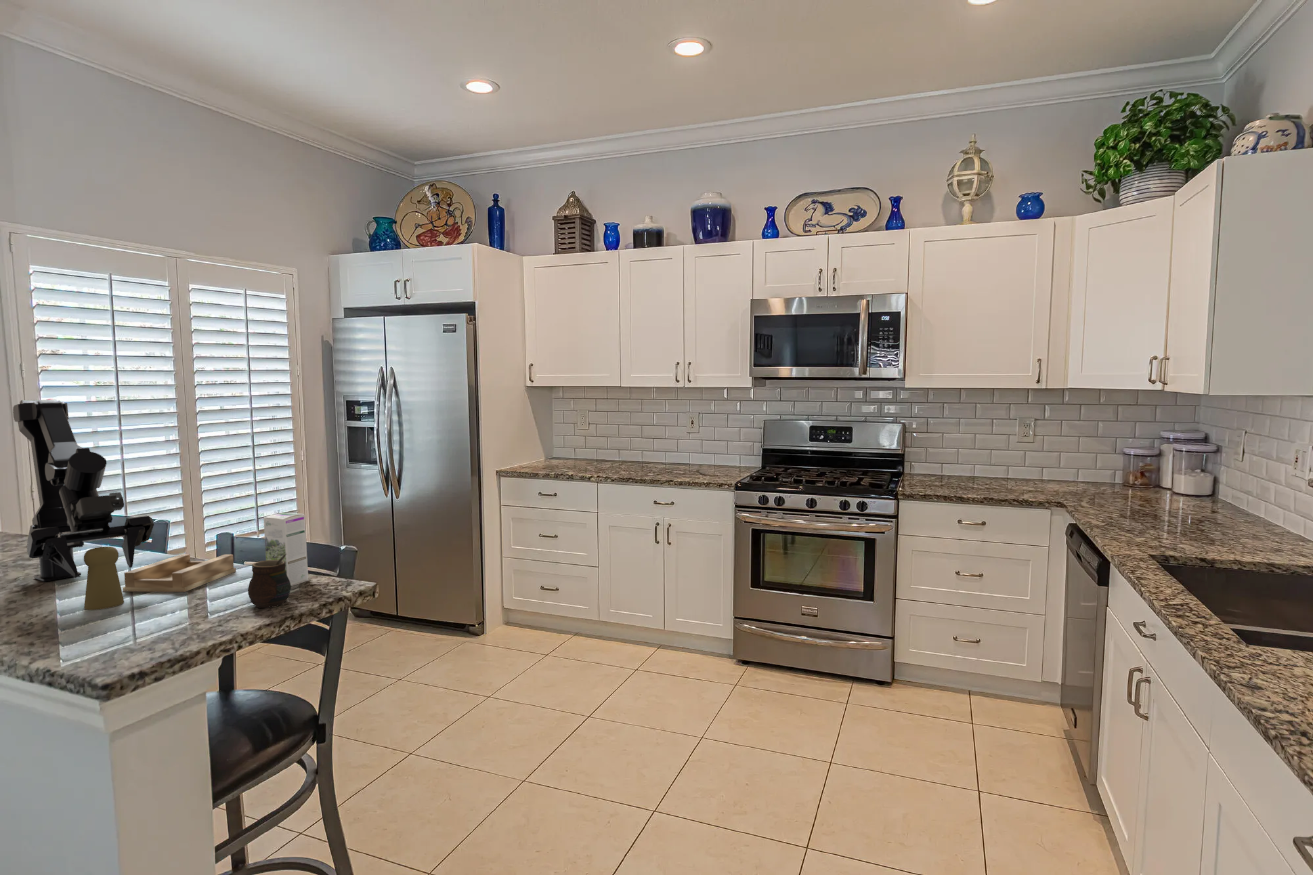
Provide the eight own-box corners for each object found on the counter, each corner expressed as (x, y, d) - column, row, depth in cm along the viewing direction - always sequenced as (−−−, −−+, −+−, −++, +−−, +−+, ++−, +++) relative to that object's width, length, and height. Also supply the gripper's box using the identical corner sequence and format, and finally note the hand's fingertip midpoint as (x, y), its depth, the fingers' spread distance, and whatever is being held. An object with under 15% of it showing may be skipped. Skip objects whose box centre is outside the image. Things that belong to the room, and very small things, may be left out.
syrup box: (309, 580, 151) (306, 512, 150) (286, 587, 146) (283, 517, 145) (288, 578, 153) (285, 511, 152) (265, 585, 148) (262, 516, 147)
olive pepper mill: (102, 610, 132) (98, 551, 131) (75, 608, 133) (71, 550, 132) (132, 601, 137) (128, 544, 137) (106, 599, 139) (102, 543, 138)
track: (179, 570, 160) (179, 554, 160) (236, 571, 159) (235, 554, 159) (123, 591, 144) (121, 572, 144) (185, 591, 143) (184, 573, 143)
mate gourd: (264, 598, 139) (262, 547, 138) (301, 599, 138) (299, 548, 137) (239, 609, 131) (237, 556, 131) (277, 611, 131) (276, 557, 130)
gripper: (26, 485, 129) (46, 554, 123) (147, 475, 143) (171, 536, 137) (18, 524, 134) (37, 591, 128) (136, 510, 149) (158, 570, 143)
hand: (104, 570), depth 134 cm, fingers open, 8 cm apart
